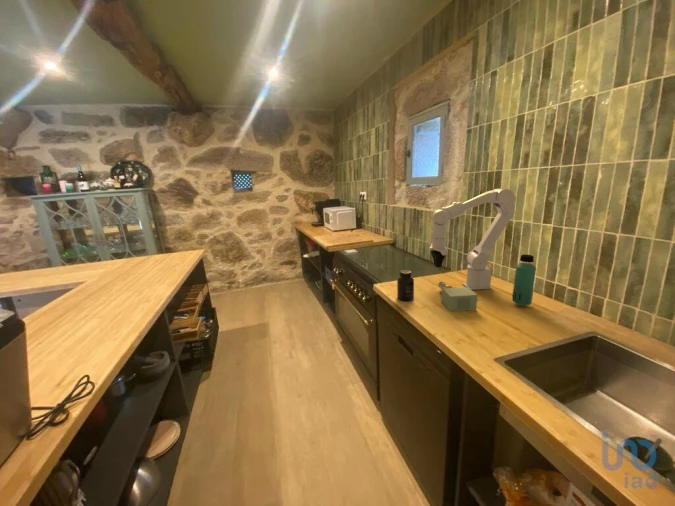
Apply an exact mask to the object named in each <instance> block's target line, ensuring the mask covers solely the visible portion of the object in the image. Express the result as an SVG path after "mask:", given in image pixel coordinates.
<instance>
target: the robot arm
mask: <svg viewBox="0 0 675 506" xmlns="http://www.w3.org/2000/svg"><path fill="white" fill-rule="evenodd" d="M516 199H517V198H516V195H515V194H514V192H513V190H511V189H508V188H505V189H504V188H501V187H499V188H497V187H496V188H494V189H493V190H488V191H486V192H483V193H481V194H479V195H477V196H475V197H473V198H471V199H469V200H467V201H464V202H461V201H454V202H452V204H451V205H448V206H446V207H445V206H444V207H442V208H441V209H437V210H435V211H434V212H433V213H432V216H431V219H432V221H433V222H432V236H431V243H430V246H429V247H428V248H429V250H430V251H429V252H430V254H431V257H432V259H433V265H434V267H435V268H442V266H443V262H444V260H445V258H446V256H448V250H447V247H446V244H447V243H446V241H447V223H448V221H450V220H453V219H455V218H458V217H460V216H463V215H465V213H466V211H468V210H469V209H472V208H475V207H477V206H480V205H482V204H485V203H489V204H493V205H494V206H495V209H496V210H497V214H496V216H495V218H494V220H493V221H492V222H491V224H490V225H489V227H488V229H487V230H486V232H485V233H484V235H483V237H482V238H481V240H480V242H479V243H478V244H477V245H476V246H474V247H473V249H472V250H471V251H470V252H468V253H467V255H466V260H467V262H468V263H467V266H466V267H467V268H466V281H465V282H462V285H463V286H464V287H468V288H469V289H470V290H472V291H474V290H475V291H476V290H490V289H492V287H491V282H492V271H491V269H490V268H489V267H487V266H488V261H489V259H490V257H491V250H492V248H493V247H494V246H495V244H496V242H497V241H498V240H499V238H500V236H501V234H503V231H504V230H505V228H506V227H507V225H508V224H509V222H510V221H511V219H512V217H513V216H514V213H515V203H516V201H517V200H516Z"/></svg>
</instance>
